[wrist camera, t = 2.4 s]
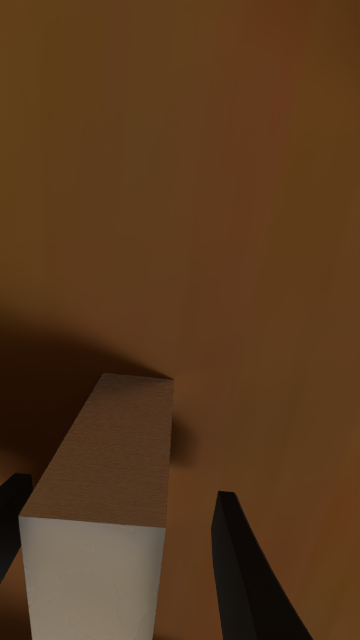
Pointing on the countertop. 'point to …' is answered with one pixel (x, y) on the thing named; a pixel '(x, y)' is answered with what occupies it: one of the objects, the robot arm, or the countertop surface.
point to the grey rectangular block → (102, 517)
